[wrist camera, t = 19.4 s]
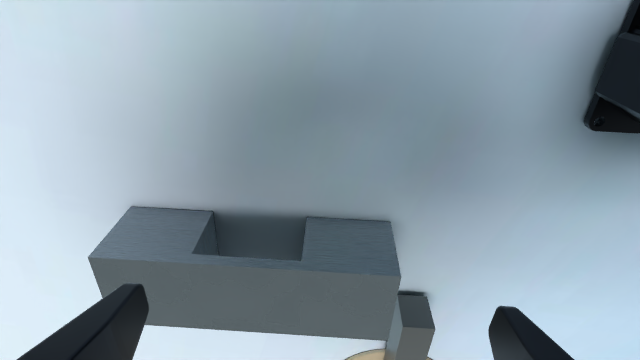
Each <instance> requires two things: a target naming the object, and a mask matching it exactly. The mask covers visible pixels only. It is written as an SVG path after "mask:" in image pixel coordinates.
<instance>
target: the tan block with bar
mask: <svg viewBox="0 0 640 360" xmlns="http://www.w3.org/2000/svg"><path fill="white" fill-rule="evenodd" d="M434 332H435V326H434V322H433V318H432V315H431V311H430V307H429V303H428V299H427V297H425V296H411V295H397V299H396V304H395V309H394V314H393V319H392V324H391V329H390V334H389V339H388V341H387V345H386V350H385V355H384V359H383V360H426V358H427V355H428V351H429V348H430V345H431V342H432V338H433V335H434Z"/></svg>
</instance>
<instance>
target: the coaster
mask: <svg viewBox="0 0 640 360" xmlns="http://www.w3.org/2000/svg"><path fill="white" fill-rule="evenodd" d="M385 350H386V349H378V350H371V351H367V352H362V353H359V354H356V355H354V356H352V357H349V358H347V359H346V360H383V359H384V355H385ZM426 360H432V359H430V358H428V357H427V358H426Z"/></svg>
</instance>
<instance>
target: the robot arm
mask: <svg viewBox="0 0 640 360" xmlns="http://www.w3.org/2000/svg"><path fill="white" fill-rule="evenodd" d="M598 117H600V120H599V121H598V122H597V123H594V121H595V120H596V119H597V118H598ZM584 123H585V125H586V126H587V127H588V128H589V129H591V130H593V131H603V132H622V133H640V0H634V1H633V4H632V6H631V9H630V11H629V13H628V16H627V18H626V21H625V23H624V25H623V28H622V30H621V33H620V35H619V37H618V38H617V39H616V41H615V44H614V46H613V49H612V51H611V53H610V56H609V58H608V61H607V63H606V65H605V68H604V70H603V73H602V75H601V77H600V80H599V82H598V85H597V87H596V93H595V95H594V97H593V100H592V102H591V105H590V107H589V109H588V112H587V114H586V116H585V120H584ZM148 313H149V304H148V300H147V297H146V293H145V289H144V286H143V285H142V284H140V283H125V284H123V285H121V286H120V287H118V288H117V289H115V290H114V291H113V292H111V293H110V294H108V295H107V296H106V297H104V298H103V299H101V300H100V301H99V302H97V303H96V304H94V305H93V306H91V307H90V308H89V309H87V310H86V311H84V312H83V313H82V314H80V315H79V316H77V317H76V318H75V319H73V320H72V321H70V322H69V323H67V324H66V325H65V326H63V327H62V328H60V329H59V330H58V331H56V332H55V333H53V334H52V335H51V336H49V337H48V338H46V339H45V340H43V341H42V342H41V343H39V344H38V345H36V346H35V347H34V348H32V349H31V350H29V351H28V352H27V353H25V354H24V355H22V356H21V357H19V358H18V359H17V360H132V359H133V356H134V353H135V351H136V348H137V345H138V342H139V339H140V336H141V333H142V331H143V328H144V325H145V322H146V319H147V316H148ZM489 339H490V343H491V348H492V352H493V357H494V360H574V359H573V358H572V357H571V356H570V355H569V354H568V353H566V352H565V351H564V350H563V349H562V348H561V347H560V346H559V345H558V344H556V343H555V342H554V341H553V340H552V339H551V338H550V337H549V336H548V335H546V334H545V333H544V332H543V331H542V330H541V329H540V328H539V327H538V326H536V325H535V324H534V323H533V322H532V321H531V320H530V319H529V318H528V317H526V316H525V315H524V314H523V313H522V312H521V311H520V310H519V309H517V308H516V307H510V306H499V307H498V308H497V309H496V311H495V314H494V316H493V319H492V321H491V324H490V326H489Z"/></svg>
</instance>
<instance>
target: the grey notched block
mask: <svg viewBox="0 0 640 360" xmlns="http://www.w3.org/2000/svg"><path fill="white" fill-rule="evenodd" d="M88 259H89V262H90V264H91V267H92V270H93V273H94V276H95V278H96V281H97V284H98V287H99V289H100V292H101V295H102V298H104V297H106V296H107V295H108V294H110V293H111V292H113V291H114V290H115V289H117V288H118V287H120V286H121V285H123V284H125V283H140V284H142V285H143V286H144V289H145V293H146V297H147V300H148V304H149V313H148V316H147V319H146V322H145V325H154V326H170V327H185V328H200V329H215V330H231V331H246V332H261V333H276V334H292V335H307V336H322V337H337V338H353V339H368V340H383V341H388V339H389V334H390V329H391V324H392V319H393V314H394V309H395V304H396V299H397V294H398V289H399V285H400V280H401V274H400V268H399V263H398V258H397V253H396V248H395V243H394V237H393V232H392V227H391V222H384V221H367V220H350V219H333V218H316V217H307V221H306V229H305V236H304V244H303V252H302V259H301V261H296V260H279V259H263V258H247V257H230V256H219V254H218V247H217V239H216V231H215V223H214V215H213V211H197V210H180V209H163V208H146V207H130V208H129V210H128V211H127V212H126V213H125V214H124V216H123V217H122V218H121V219H120V220H119V221H118V223H117V224H116V225H115V226H114V227H113V228H112V230H111V231H110V232H109V233H108V234H107V235H106V237H105V238H104V239H103V240H102V241H101V242H100V244H99V245H98V246H97V247H96V248H95V250H94V251H93V252H92V253H91V254H90V255H89V257H88Z"/></svg>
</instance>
